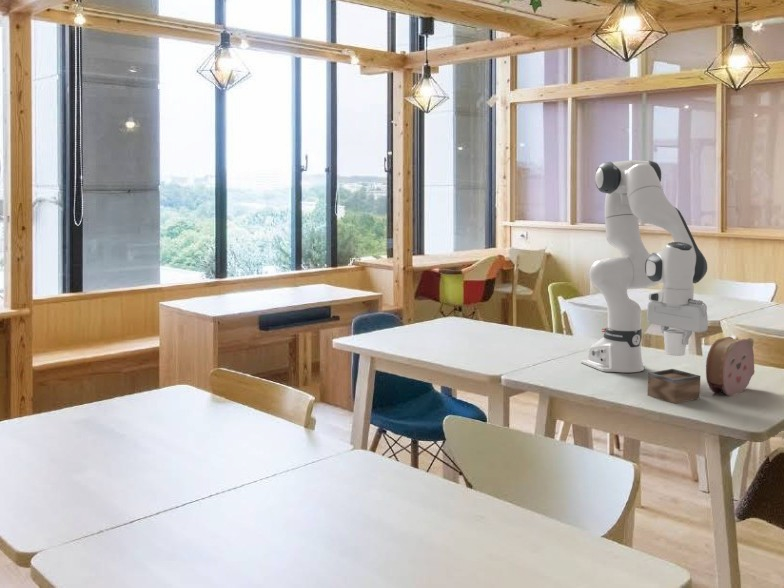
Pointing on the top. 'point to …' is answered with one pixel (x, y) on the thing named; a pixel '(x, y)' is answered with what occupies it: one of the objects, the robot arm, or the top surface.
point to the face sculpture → (730, 365)
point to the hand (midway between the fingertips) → (675, 342)
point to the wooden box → (673, 385)
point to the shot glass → (674, 342)
